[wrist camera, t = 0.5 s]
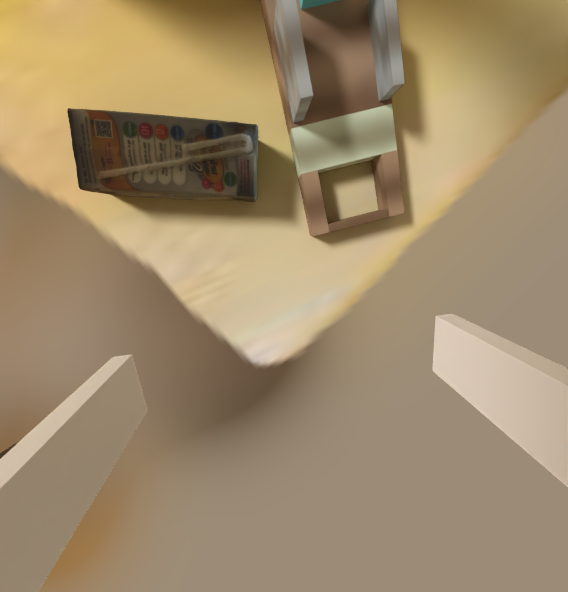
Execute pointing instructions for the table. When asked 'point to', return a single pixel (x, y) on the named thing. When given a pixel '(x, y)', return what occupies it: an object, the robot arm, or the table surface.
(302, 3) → the teal block
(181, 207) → the table surface
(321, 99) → the brown piece
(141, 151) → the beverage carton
